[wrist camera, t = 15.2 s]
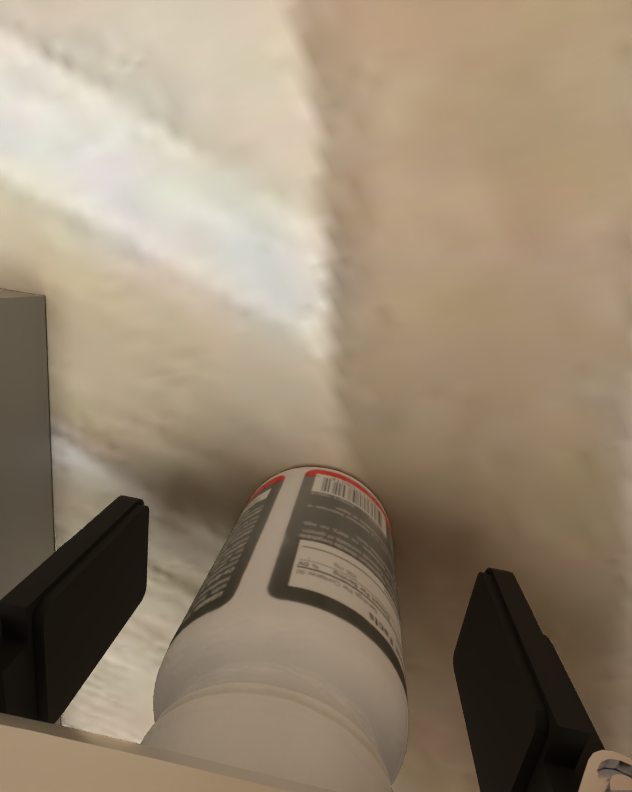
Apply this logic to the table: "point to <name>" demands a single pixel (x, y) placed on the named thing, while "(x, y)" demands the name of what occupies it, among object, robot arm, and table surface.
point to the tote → (24, 440)
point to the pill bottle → (294, 643)
